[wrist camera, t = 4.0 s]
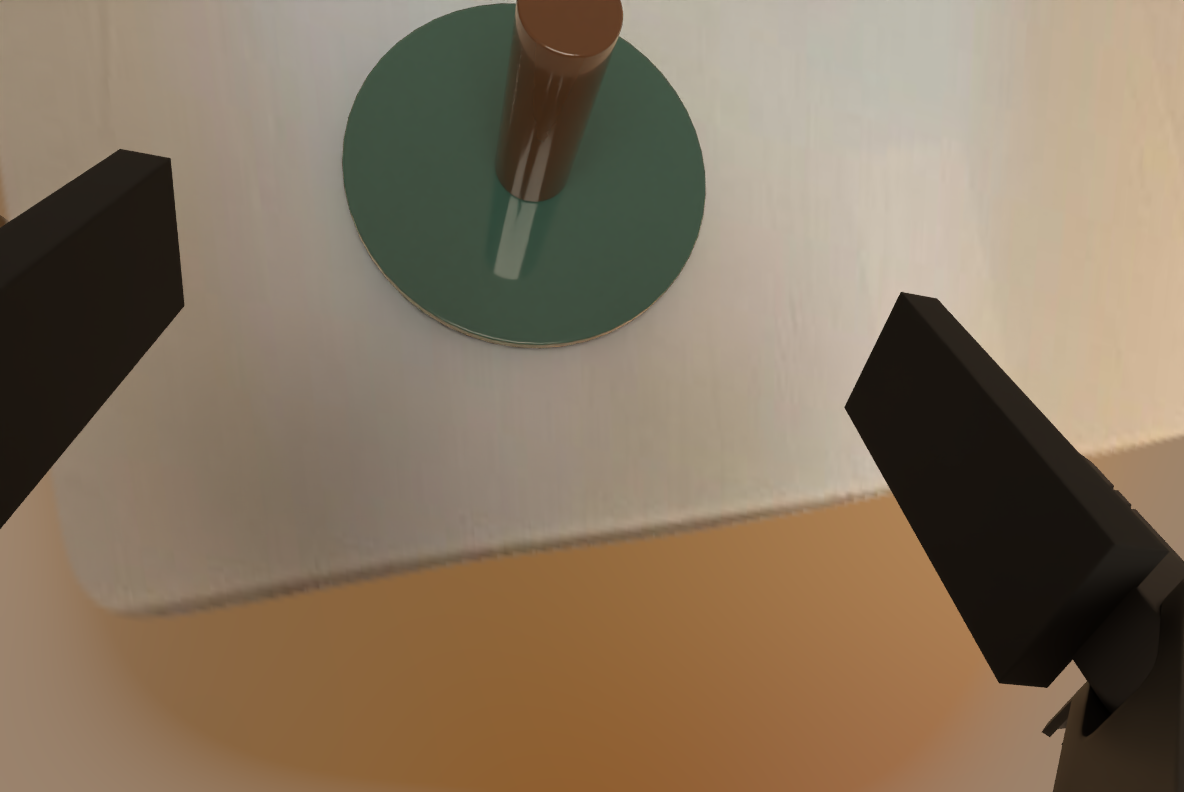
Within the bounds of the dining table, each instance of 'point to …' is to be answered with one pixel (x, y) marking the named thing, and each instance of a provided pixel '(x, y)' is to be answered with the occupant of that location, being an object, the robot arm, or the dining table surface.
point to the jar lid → (524, 172)
